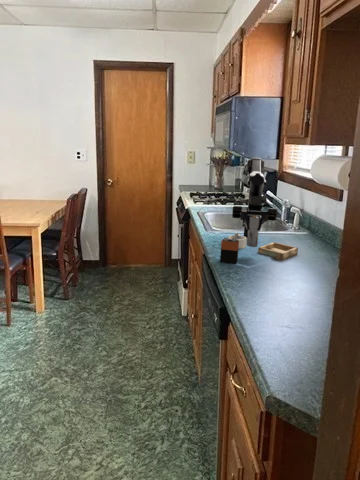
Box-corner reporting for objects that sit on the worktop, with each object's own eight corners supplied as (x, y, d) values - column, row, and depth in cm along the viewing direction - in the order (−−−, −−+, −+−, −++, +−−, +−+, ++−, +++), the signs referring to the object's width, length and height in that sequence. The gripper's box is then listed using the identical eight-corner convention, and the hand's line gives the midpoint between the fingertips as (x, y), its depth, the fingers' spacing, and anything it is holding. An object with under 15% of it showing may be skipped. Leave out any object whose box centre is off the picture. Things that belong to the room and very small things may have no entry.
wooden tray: (273, 248, 190) (274, 242, 189) (297, 254, 182) (298, 247, 182) (257, 254, 180) (258, 247, 179) (281, 260, 172) (282, 253, 171)
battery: (236, 264, 165) (238, 240, 162) (219, 262, 166) (221, 238, 164) (237, 261, 169) (239, 238, 166) (221, 259, 170) (222, 236, 168)
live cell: (250, 243, 176) (253, 214, 172) (259, 245, 173) (262, 215, 170) (244, 245, 173) (247, 215, 169) (253, 247, 170) (256, 217, 166)
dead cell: (236, 244, 190) (237, 232, 189) (241, 246, 188) (242, 233, 187) (232, 245, 188) (233, 233, 187) (237, 247, 186) (238, 234, 185)
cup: (234, 244, 194) (235, 234, 193) (248, 248, 189) (249, 237, 188) (224, 247, 188) (225, 237, 187) (238, 251, 183) (239, 240, 182)
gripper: (234, 187, 172) (231, 218, 164) (279, 189, 169) (278, 221, 161) (233, 202, 181) (230, 232, 174) (276, 205, 179) (275, 235, 171)
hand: (253, 230), depth 170 cm, fingers closed on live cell, 4 cm apart
